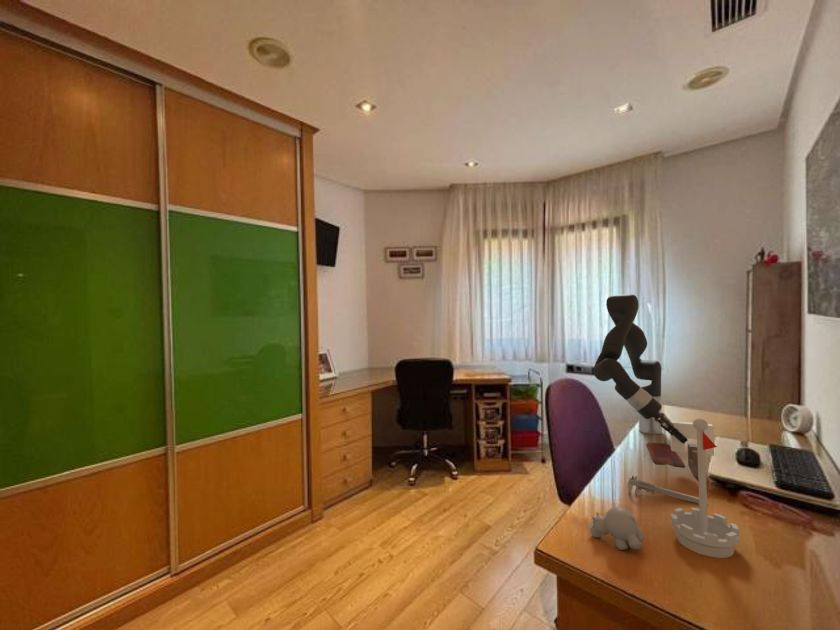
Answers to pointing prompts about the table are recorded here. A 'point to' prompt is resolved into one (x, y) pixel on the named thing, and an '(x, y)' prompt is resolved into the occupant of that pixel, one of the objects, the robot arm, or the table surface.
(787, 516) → the table surface
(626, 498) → the table surface
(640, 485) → the caliper
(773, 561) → the table surface
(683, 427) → the white notched plate
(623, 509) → the chubby cartoon animal
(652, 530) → the table surface
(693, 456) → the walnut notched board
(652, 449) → the wooden tablet
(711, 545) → the flag stand
